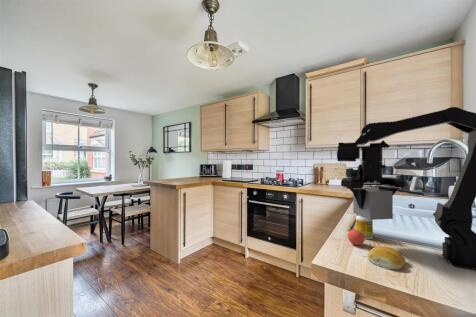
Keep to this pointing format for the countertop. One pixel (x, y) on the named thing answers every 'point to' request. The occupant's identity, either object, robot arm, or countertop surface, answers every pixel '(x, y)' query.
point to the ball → (356, 237)
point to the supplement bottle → (365, 226)
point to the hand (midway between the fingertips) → (371, 208)
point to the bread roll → (386, 258)
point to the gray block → (375, 204)
